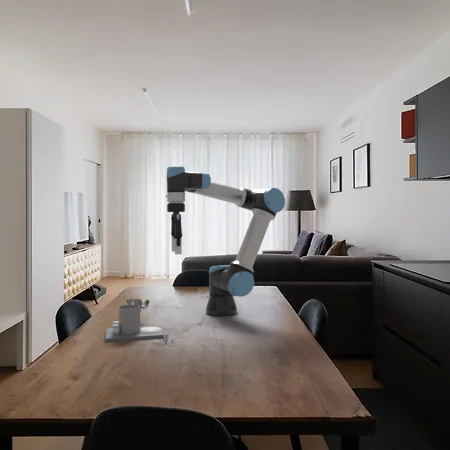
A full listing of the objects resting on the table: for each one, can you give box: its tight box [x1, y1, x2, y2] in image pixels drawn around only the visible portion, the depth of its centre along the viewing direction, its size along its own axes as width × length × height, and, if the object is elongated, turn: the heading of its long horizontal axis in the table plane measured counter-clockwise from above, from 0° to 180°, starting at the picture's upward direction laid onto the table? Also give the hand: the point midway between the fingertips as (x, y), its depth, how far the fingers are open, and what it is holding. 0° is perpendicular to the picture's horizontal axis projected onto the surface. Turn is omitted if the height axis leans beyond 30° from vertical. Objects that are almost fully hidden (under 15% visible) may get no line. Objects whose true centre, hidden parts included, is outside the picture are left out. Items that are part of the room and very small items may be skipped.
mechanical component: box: [126, 298, 150, 313], centre depth 198 cm, size 3×10×10 cm, turn 78°
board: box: [104, 320, 165, 343], centre depth 177 cm, size 22×16×5 cm
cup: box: [118, 304, 142, 334], centre depth 176 cm, size 8×8×10 cm
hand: (176, 252), depth 187 cm, fingers open, 13 cm apart
